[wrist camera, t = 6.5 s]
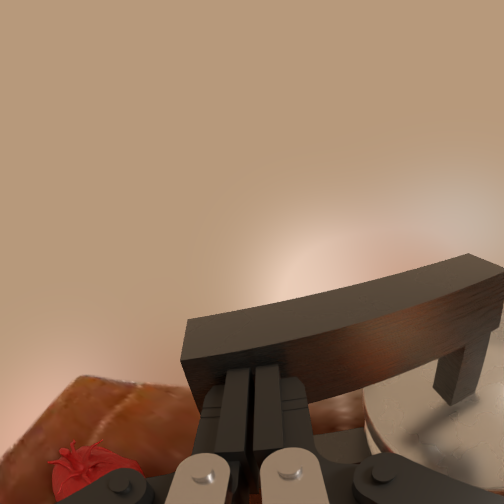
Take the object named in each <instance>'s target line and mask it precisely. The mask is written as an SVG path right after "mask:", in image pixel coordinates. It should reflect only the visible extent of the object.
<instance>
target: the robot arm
mask: <svg viewBox="0 0 504 504" xmlns="http://www.w3.org/2000/svg"><path fill="white" fill-rule="evenodd" d="M200 418H201V419H200V421H199V425H198V429H197V434H196V438H195V442H194V447H193V451H192V455H191V456H190V457H188V458H186V459H185V460H184V461H182V462H181V463H180V465H179V466H178V467H177V470H176V472H173V473H171V474H167V475H161V476H156V477H150V478H145V477H144V476H143V475H142V474H141V473H140V472H139V471H137V470H135V469H132V468H118V469H115V470H112V471H110V472H109V473H107V474H105V475H104V476H102V477H100V478H99V479H97V480H96V481H94V482H92V483H91V484H89V485H87V486H85V487H84V488H82V489H80V490H78V491H77V492H75V493H73V494H71V495H70V496H68V497H66V498H64V499H62V500H60V501H59V502H57V503H55V504H249V494H259V472H260V477H261V491H262V504H504V496H502V495H498V494H495V493H492V492H489V491H486V490H484V489H481V488H478V487H475V486H472V485H470V484H467V483H464V482H462V481H459V480H457V479H454V478H451V477H449V476H447V475H444V474H442V473H439V472H437V471H435V470H432V469H430V468H428V467H425V466H423V465H421V464H419V463H417V462H414V461H412V460H410V459H408V458H406V457H404V456H402V455H399V454H396V453H390V452H383V453H377V454H374V455H372V456H369V457H367V458H366V459H364V460H363V461H362V462H361V463H360V464H342V463H335V462H332V461H329V460H327V459H325V458H324V457H322V456H321V455H320V454H319V453H318V451H317V449H316V447H315V443H314V437H313V431H312V425H311V420H310V414H309V409H308V402H307V397H306V391H305V386H304V384H303V383H302V382H301V381H300V380H299V379H298V378H297V377H289V378H282V379H281V377H280V371H279V365H278V364H273V365H265V366H257V367H256V376H255V384H254V380H253V375H252V371H251V368H250V367H249V368H240V369H230V370H228V371H227V375H226V382H225V385H215V386H213V387H212V388H211V390H210V391H209V392H208V393H207V395H206V396H205V399H204V403H203V410H202V412H201V416H200Z"/></svg>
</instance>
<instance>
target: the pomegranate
mask: <svg viewBox="0 0 504 504" xmlns="http://www.w3.org/2000/svg"><path fill="white" fill-rule="evenodd" d="M101 441H103V440H101ZM101 441H99V442H97V443H95V444H93V445H91V446H83V447H80V448H79V449H78V450H75V448H74V444H75V440H74V439H73V442H71V443H70V446H71V449H72V452H70V450H69V449H67V448H61V449H60V450H59V453H60V454H61V455H62V457H60V458H59V459H58V460H54V461H47V462H48V463H49V464H55V466H54V469H53V473H52V488H53V493H54V495H55V499H56V501H57V502H59V501H60V500H62V499H64V498H66V497H68V496H70V495H71V494H73V493H75V492H77V491H78V490H80V489H82V488H84V487H85V486H87V485H89V484H91V483H92V482H94V481H96V480H97V479H99V478H100V477H102V476H104V475H105V474H107V473H109V472H110V471H112V470H115V469H118V468H132V469H135V470H137V471H139V472H140V473H141V474H142V475H143V476H144V474H143V472H142V470H141V468H140V466H139V464H138V462H137V461H135V460H130V459H128V458H123V457H121V456H119V455H118V454H115V453H113V452H111V451H110V450H108V449H106V448H103V447H98V446H96V445H97V444H99V443H100V442H101ZM144 477H145V476H144Z"/></svg>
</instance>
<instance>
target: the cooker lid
mask: <svg viewBox="0 0 504 504" xmlns="http://www.w3.org/2000/svg"><path fill="white" fill-rule="evenodd" d="M180 362H181V364H182V367H183V370H184V372H185V376H186V379H187V381H188V384H189V387H190V389H191V392H192V395H193V397H194V400H195V402H196V405H197V408H198V410H199V413H200V415H201V412H202V410H203V403H204V399H205V396H206V395H207V393H208V392H209V391H210V390H211V388H212V387H213V386H215V385H225V382H226V375H227V371H228V370H230V369H240V368H249V367H250V368H251V371H252V375H253V380H254V384H255V376H256V367H257V366H265V365H273V364H278V365H279V371H280V377H281V379H282V378H289V377H297V378H298V379H299V380H300V381H301V382H302V383H303V384H304V386H305V391H306V397H307V402H308V404H309V403H313V402H317V401H320V400H324V399H328V398H331V397H335V396H338V395H342V394H345V393H348V392H351V391H354V390H358V389H361V388H363V399H362V401H363V413H364V417H365V421H366V425H367V428H368V430H369V432H370V435H371V437H372V439H373V441H374V443H375V444H376V446H377V447H378V449H379V450H380V452H381V453H383V452H390V453H396V454H399V455H402V456H404V457H406V458H408V459H410V460H412V461H414V462H417V463H419V464H421V465H423V466H425V467H428V468H430V469H432V470H435V471H437V472H439V473H442V474H444V475H447V476H449V477H451V478H454V479H457V480H459V481H462V482H464V483H467V484H470V485H472V486H475V487H478V488H481V489H484V490H486V491H489V492H492V493H495V494H498V495H502V496H504V268H503V267H500V266H498V265H496V264H493V263H491V262H489V261H486V260H484V259H481V258H478V257H476V256H474V255H471V254H469V253H468V254H465V255H461V256H458V257H455V258H451V259H448V260H445V261H441V262H438V263H434V264H431V265H427V266H424V267H420V268H417V269H413V270H410V271H406V272H403V273H399V274H395V275H391V276H387V277H383V278H380V279H376V280H372V281H368V282H364V283H360V284H356V285H352V286H348V287H344V288H339V289H335V290H331V291H327V292H323V293H318V294H314V295H309V296H305V297H301V298H296V299H292V300H287V301H282V302H277V303H273V304H268V305H262V306H257V307H252V308H248V309H242V310H237V311H232V312H227V313H221V314H216V315H210V316H205V317H199V318H193V319H188V321H187V326H186V332H185V337H184V342H183V347H182V354H181V359H180Z"/></svg>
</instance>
